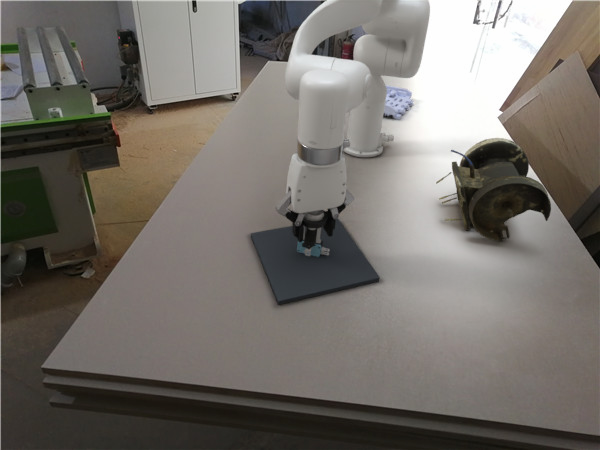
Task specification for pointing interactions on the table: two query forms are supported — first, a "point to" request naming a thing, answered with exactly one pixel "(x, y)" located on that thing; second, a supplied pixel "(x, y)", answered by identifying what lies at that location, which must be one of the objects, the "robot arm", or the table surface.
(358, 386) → the table surface
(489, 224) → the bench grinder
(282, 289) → the mat
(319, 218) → the push button
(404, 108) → the ice tray
